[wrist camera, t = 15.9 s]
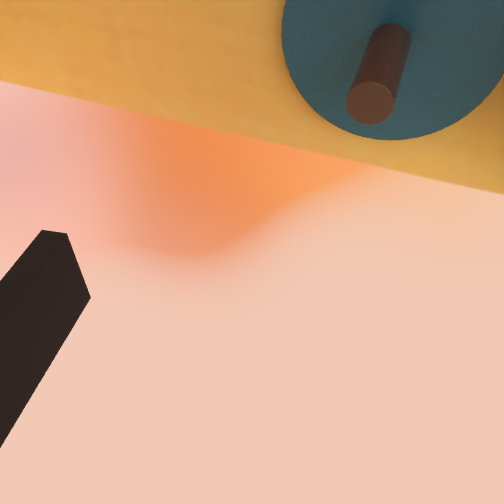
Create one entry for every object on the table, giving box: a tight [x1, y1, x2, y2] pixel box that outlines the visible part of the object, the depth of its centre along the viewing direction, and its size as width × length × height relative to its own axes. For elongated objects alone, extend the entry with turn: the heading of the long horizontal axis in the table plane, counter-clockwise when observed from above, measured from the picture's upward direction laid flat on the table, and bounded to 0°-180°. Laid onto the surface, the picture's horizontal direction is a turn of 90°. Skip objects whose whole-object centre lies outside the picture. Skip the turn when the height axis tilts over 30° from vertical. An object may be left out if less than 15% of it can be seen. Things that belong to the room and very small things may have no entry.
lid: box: [282, 0, 504, 140], centre depth 28 cm, size 15×15×9 cm
